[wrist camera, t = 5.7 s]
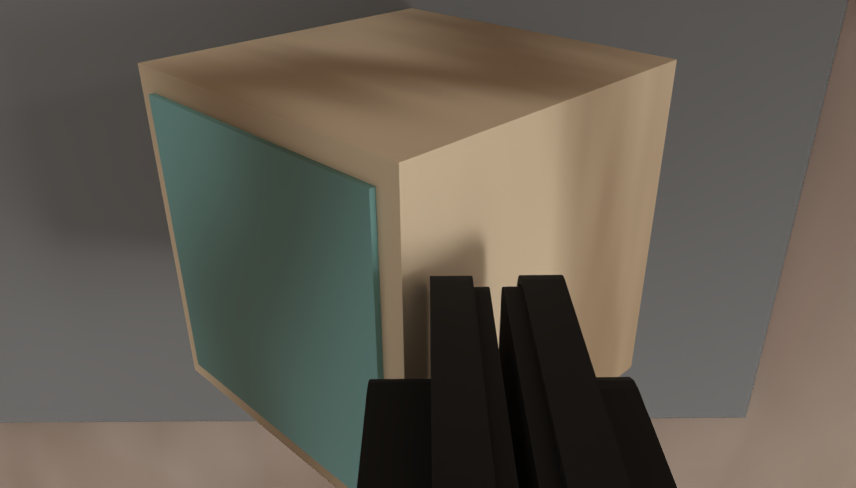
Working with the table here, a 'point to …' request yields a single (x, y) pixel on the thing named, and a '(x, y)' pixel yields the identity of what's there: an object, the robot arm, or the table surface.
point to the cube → (395, 201)
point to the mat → (333, 3)
